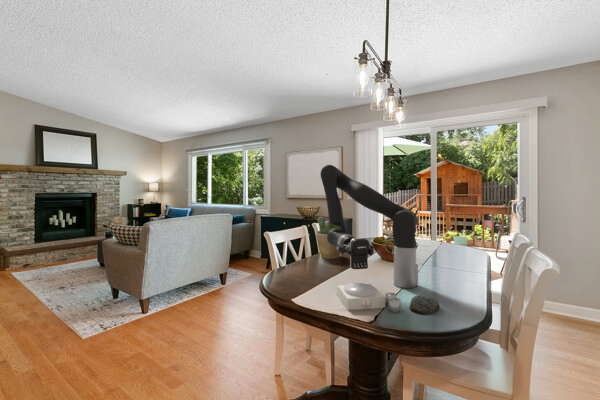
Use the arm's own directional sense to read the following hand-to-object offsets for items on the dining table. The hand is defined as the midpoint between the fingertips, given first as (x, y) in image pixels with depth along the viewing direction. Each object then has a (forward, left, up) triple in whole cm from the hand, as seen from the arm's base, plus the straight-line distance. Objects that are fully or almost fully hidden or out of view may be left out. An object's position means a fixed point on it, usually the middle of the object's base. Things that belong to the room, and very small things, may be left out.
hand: (361, 252), depth 104 cm
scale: (0, -2, -19) cm, 19 cm away
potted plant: (-6, -73, -19) cm, 76 cm away
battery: (0, -2, -7) cm, 7 cm away
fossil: (-21, +6, -20) cm, 29 cm away
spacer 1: (-10, +3, -19) cm, 22 cm away
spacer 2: (-9, +8, -19) cm, 23 cm away
